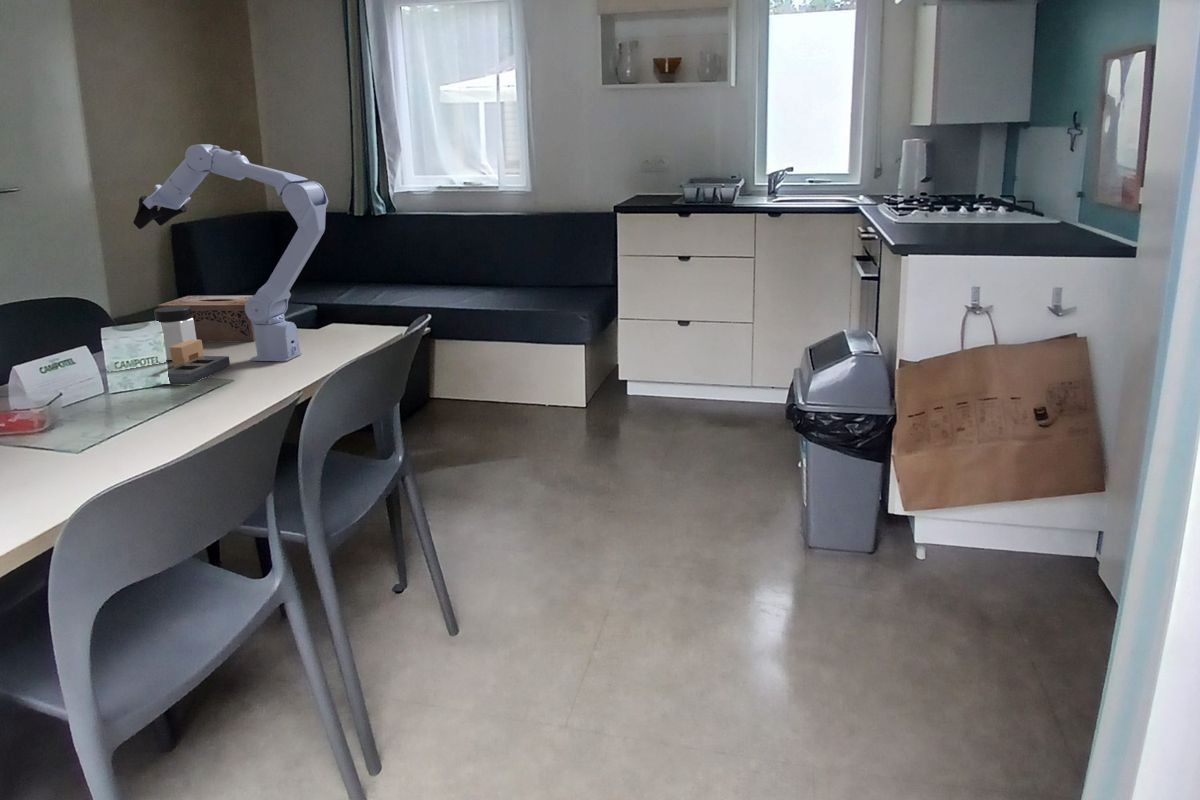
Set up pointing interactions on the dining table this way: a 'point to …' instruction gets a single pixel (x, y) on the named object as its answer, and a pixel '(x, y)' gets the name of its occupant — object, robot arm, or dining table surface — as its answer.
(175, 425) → the dining table surface
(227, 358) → the grey slotted tray
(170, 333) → the jar
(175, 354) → the tan block
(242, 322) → the tissue box cover
